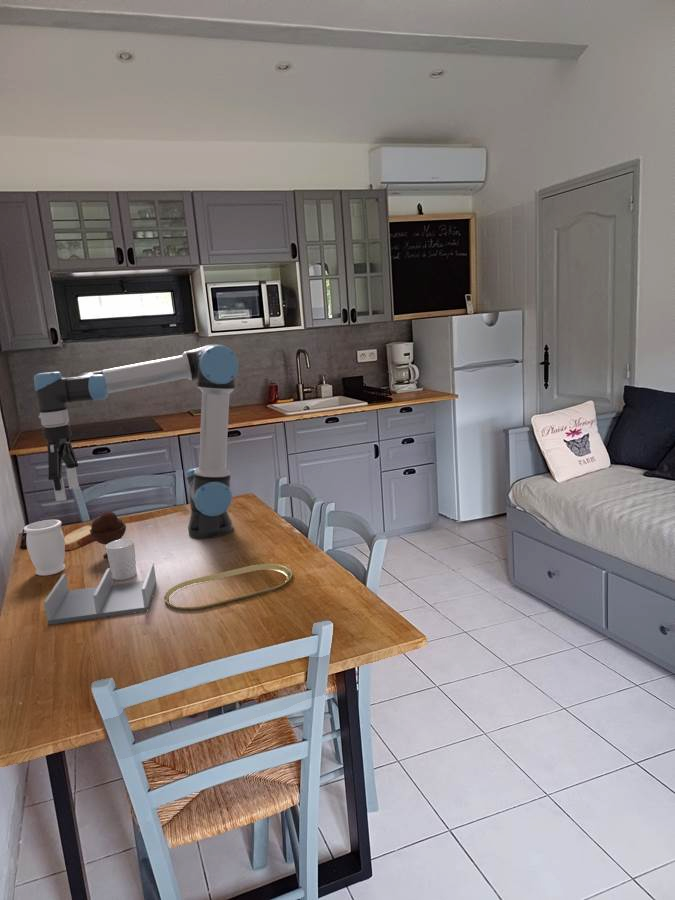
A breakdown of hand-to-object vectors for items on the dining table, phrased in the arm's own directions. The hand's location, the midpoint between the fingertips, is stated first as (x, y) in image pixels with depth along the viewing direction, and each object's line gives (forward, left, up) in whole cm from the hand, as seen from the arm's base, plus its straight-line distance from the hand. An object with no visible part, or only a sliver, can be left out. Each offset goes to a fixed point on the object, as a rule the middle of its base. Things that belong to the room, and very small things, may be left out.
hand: (68, 494), depth 190 cm
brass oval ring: (-46, +30, -24) cm, 60 cm away
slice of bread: (+5, -29, -24) cm, 38 cm away
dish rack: (-13, +29, -24) cm, 40 cm away
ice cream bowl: (-8, -8, -24) cm, 26 cm away
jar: (+9, -1, -24) cm, 25 cm away
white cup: (-15, +11, -24) cm, 30 cm away
